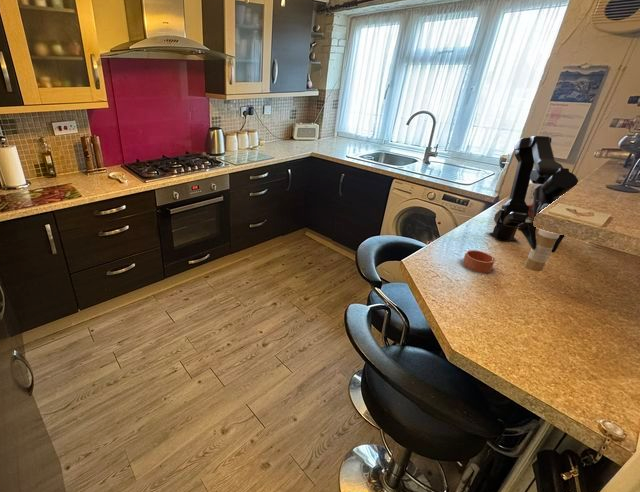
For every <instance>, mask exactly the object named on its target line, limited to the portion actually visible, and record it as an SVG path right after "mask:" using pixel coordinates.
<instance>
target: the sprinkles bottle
mask: <svg viewBox="0 0 640 492" xmlns="http://www.w3.org/2000/svg"><path fill="white" fill-rule="evenodd" d="M559 236H560V234H556V233H553V232H549V231H545V230H542V229H540V228H539V229H538V232H537V235H536V247H535V249H532V248H531V247H530V248H531V249H530V251H529V253H528V255H527V258H526V261H525V263H524V264H523V266H524V267H525V268H526V269H528V270H530V271H533V272H543V271H544V267H545V265H546V263H547V262H548V260H549V257H550V255H551V253H552V249H553V246H554V244H555V242H556V240H557V238H559Z"/></svg>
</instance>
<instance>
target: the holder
mask: <svg viewBox="0 0 640 492" xmlns="http://www.w3.org/2000/svg"><path fill="white" fill-rule="evenodd" d="M495 261H496V260H495V257H493V255H491V254H489V253H487V252H484V251H480V250H477V249H470V250H466V251H465V254H464V256H463V260H462V265H463V267H465V268H466V269H468V270H470V271H473V272H476V273H480V274H481V273H482V274H487V273H490V272H491V271H492V269H493V266H494V264H495Z"/></svg>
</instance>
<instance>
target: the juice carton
mask: <svg viewBox="0 0 640 492" xmlns="http://www.w3.org/2000/svg"><path fill="white" fill-rule="evenodd" d="M540 185H542V184H534V183H532V181H531V180H530V182H529V186H528V190H527V194H526V198H525V202H526V204H527V205H528V206H529V210H528V214H529V218H532V217H533V211H531V209H532V208H533V203H534V195H533V192H534V189H535V188H537V187H538V186H540Z"/></svg>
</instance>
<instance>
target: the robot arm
mask: <svg viewBox="0 0 640 492" xmlns="http://www.w3.org/2000/svg"><path fill="white" fill-rule="evenodd" d="M552 139H553V138H552V137H551V136H548V135H547V136H546V135H533V136H530V137H521V138H520V139H517V140H516V142H515V143H514V147H513V148H514V157H515V159H516V161H517V165H516V170H515V173H514V177H513V181H512V185H511V189H510V190H511V191H510V194H509V197H508V199H507V201H505V202H504V203H503V204H502V205H501V208H499V210H498V211H497V212H496V213H495V214H494V218H493V221H494V222H495V225H494V228H493V230H492V232H489V235H490V236H492V237H494V238H495V239H497V240H498V241H499V242H517V240H518V239H516V237H515V236H516V233H517V231H520V232H521V233H522V235H523V236H524V237H525V239H526V241H527V243H528V244H529V246H530V248H532V249H535V247H536V238H537V228H536V227H534V226H533V221H534V217H535V216H536V214H537V213H539V212H540V211H541V210H542V209H544V208H545V207H547V206H548V205H549V204H551V203H552V202H553V201H555V200H556V199H558V198H559V199H560V197H562V196H564V195H565V194H567V193H568V192H569V191H571V190H572V189H573V188H574V187H576V186H577V185H578V184H579V178H578V177H577V176H576V175H575V173H573V172H571V171H570V168H568V167H567V168H566V167H564V166H563V165H562V164H561V163H560V162H558V161H556V159H555V156H554V152H553V149H552V147H553V146H552ZM530 180H531V181H532V183H534V184H542V185H540V186H538V187H537V188H535V189H534V192H533V195H534V203H533V208H532V209H531V211H533V217H532V218H529V214H528V210H529V206H528V205H527V204H526V202H525V198H526V194H527V190H528V186H529V182H530ZM566 192H567V193H566ZM563 194H564V195H563ZM564 238H566V236H564V235H560V236H559V238H557V240H556V242H555V244H554V246H553V249H552V251H551V253H555V252H556V251H557V249H558V247H559V246H560V244H561V242H562V241H563V239H564Z"/></svg>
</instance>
